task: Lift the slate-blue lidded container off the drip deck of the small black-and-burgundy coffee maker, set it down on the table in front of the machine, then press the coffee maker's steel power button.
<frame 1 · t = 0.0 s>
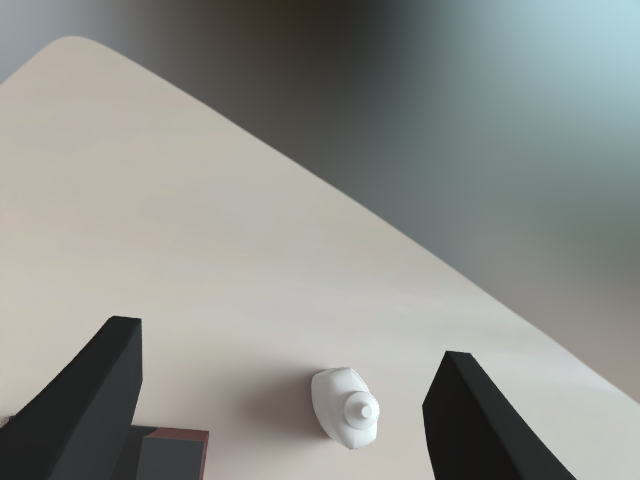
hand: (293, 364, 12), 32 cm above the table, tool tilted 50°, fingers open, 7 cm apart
eye dropper bottle: (332, 403, 43), on the table
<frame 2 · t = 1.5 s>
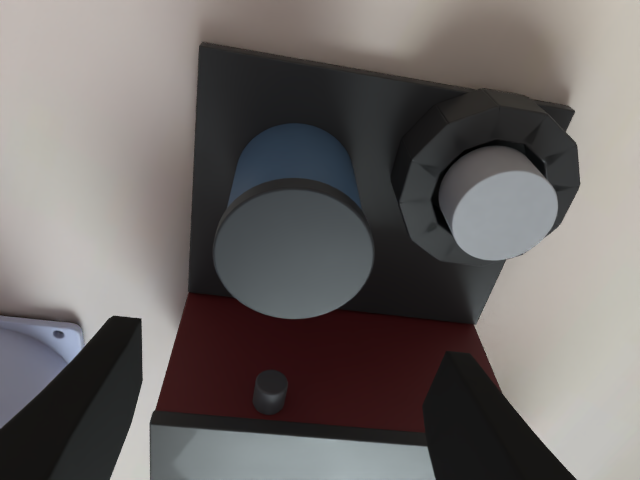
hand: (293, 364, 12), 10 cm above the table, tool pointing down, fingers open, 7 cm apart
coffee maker: (361, 203, 22), on the table
container: (295, 179, 20), point 1 cm above the table, touching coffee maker
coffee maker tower: (328, 332, 26), on the table
power button: (495, 203, 18), point 3 cm above the table, slide at 0.1 cm
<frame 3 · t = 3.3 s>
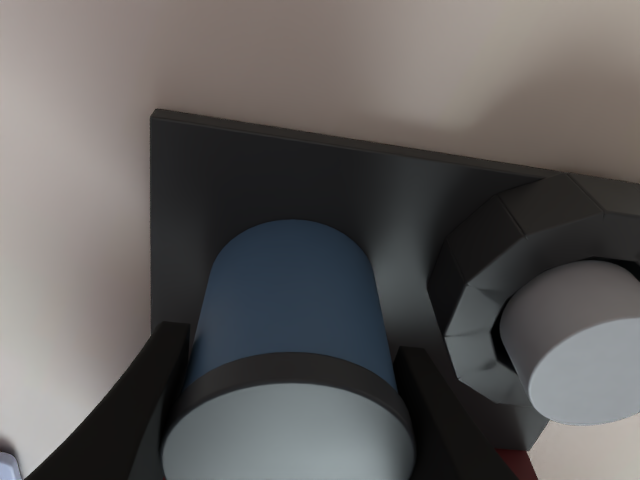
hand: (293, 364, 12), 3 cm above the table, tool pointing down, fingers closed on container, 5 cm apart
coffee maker: (384, 312, 16), on the table
container: (292, 289, 14), point 1 cm above the table, touching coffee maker, gripper
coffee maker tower: (337, 456, 20), on the table
power button: (587, 343, 12), point 3 cm above the table, slide at 0.1 cm
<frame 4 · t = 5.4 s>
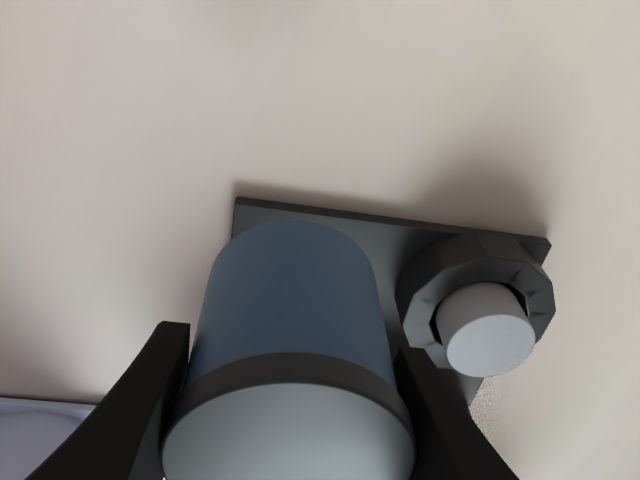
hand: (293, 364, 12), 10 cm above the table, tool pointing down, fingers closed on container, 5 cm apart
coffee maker: (369, 312, 25), on the table
container: (292, 289, 14), point 7 cm above the table, touching gripper
power button: (483, 329, 21), point 3 cm above the table, slide at 0.1 cm
when the fingers open (2 cm above the table, at t = 7.9 s): container stays where it is, on the table.
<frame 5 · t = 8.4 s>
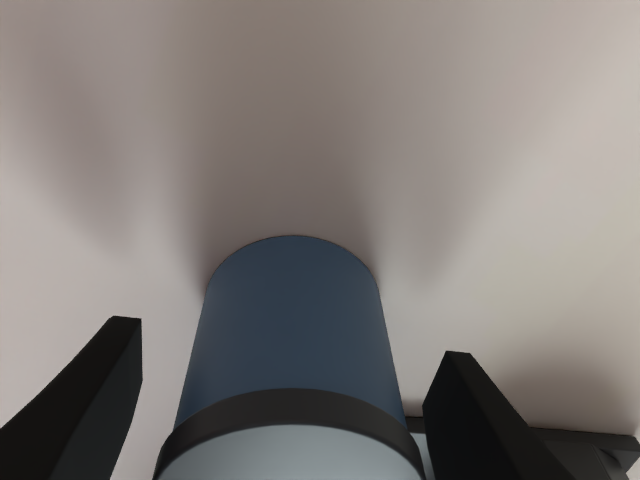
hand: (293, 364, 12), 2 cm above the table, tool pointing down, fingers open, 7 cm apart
container: (293, 307, 14), on the table
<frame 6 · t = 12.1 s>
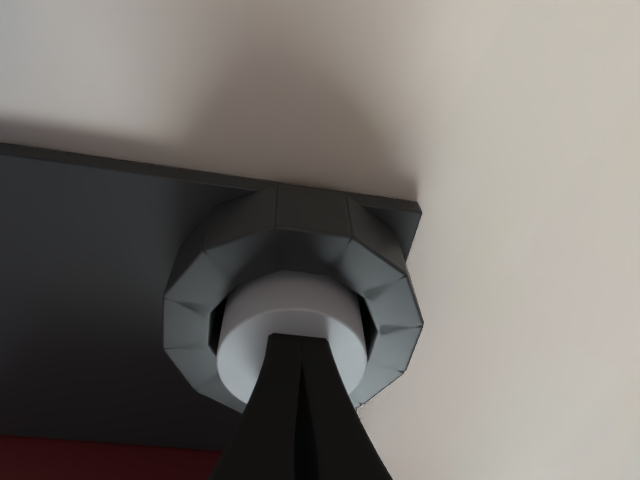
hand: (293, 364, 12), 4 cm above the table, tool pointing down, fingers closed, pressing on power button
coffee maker: (154, 323, 16), on the table
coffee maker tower: (154, 465, 20), on the table
power button: (292, 335, 13), point 3 cm above the table, slide at -0.6 cm, touching gripper
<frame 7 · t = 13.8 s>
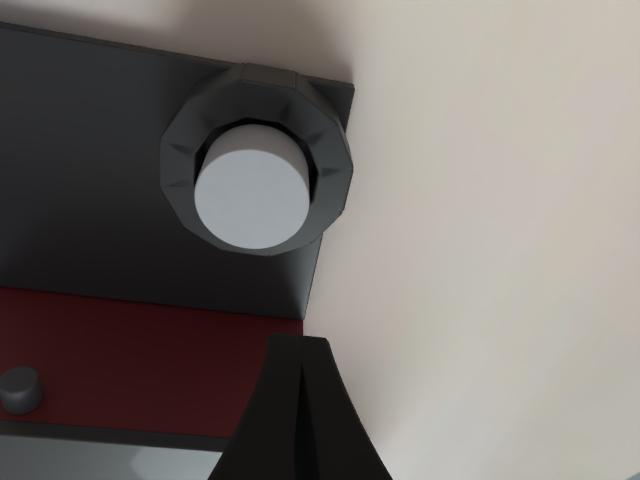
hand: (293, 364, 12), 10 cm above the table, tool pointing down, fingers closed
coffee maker: (153, 189, 20), on the table
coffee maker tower: (153, 328, 24), on the table
power button: (254, 187, 17), point 3 cm above the table, slide at 0.1 cm
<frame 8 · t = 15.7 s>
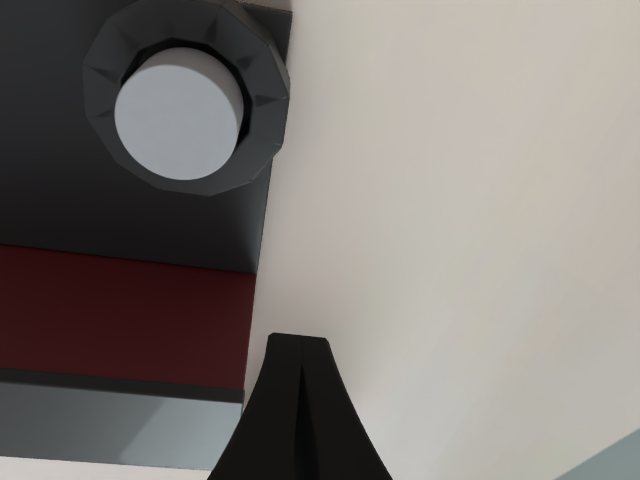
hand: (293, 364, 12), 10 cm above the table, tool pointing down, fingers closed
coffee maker: (91, 130, 19), on the table
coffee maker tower: (102, 284, 24), on the table
power button: (183, 114, 16), point 3 cm above the table, slide at 0.1 cm
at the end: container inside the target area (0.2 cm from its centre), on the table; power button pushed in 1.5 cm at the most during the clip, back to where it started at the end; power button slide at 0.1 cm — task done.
